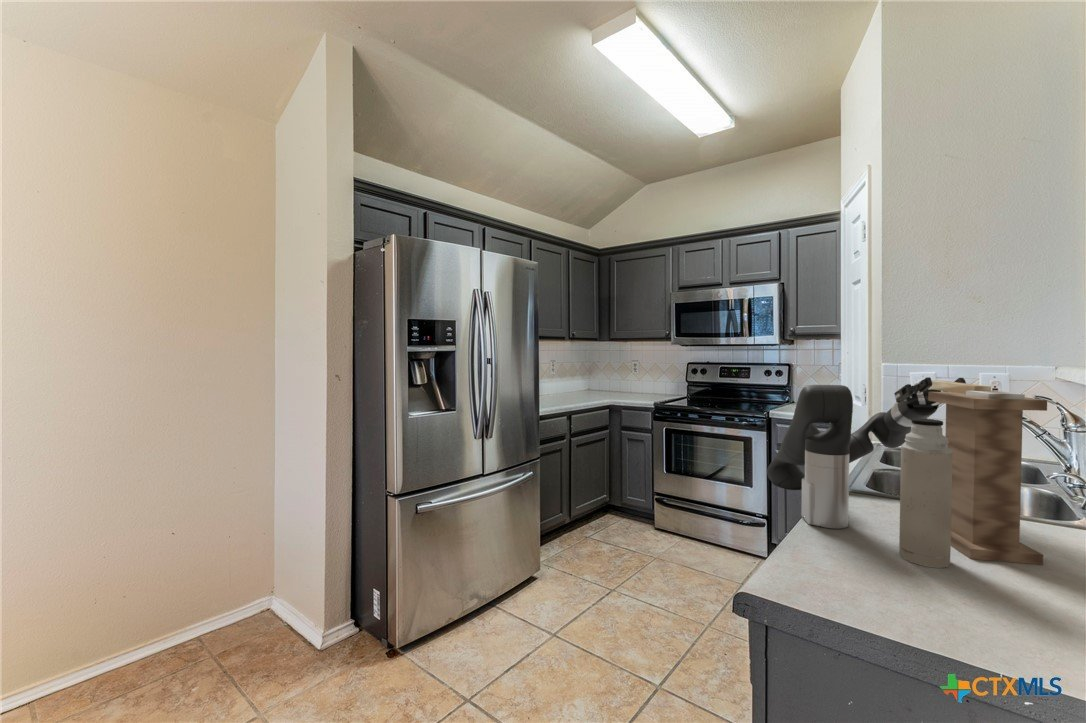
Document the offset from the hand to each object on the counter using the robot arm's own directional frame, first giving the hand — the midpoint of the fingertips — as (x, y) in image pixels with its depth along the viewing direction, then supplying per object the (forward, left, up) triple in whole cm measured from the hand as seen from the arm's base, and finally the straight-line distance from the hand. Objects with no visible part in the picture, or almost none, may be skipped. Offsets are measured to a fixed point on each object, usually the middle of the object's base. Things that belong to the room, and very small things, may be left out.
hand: (946, 381), depth 114 cm
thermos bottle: (-15, -23, -34) cm, 44 cm away
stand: (0, -13, -34) cm, 37 cm away
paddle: (0, -7, -2) cm, 8 cm away
